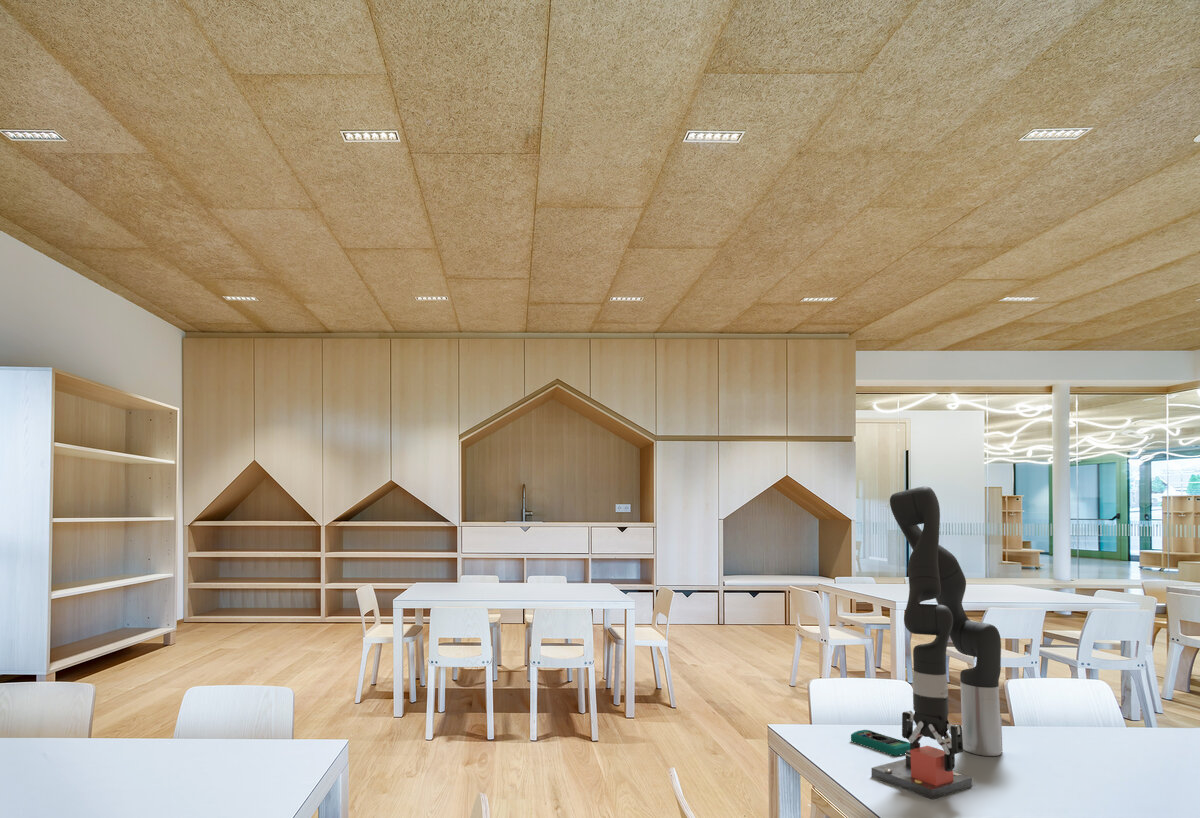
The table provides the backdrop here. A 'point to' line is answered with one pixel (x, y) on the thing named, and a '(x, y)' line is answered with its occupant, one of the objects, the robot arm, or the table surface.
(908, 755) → the breaker
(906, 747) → the digital multimeter
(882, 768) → the breaker panel
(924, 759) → the red cube
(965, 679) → the robot arm
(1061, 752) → the table surface
